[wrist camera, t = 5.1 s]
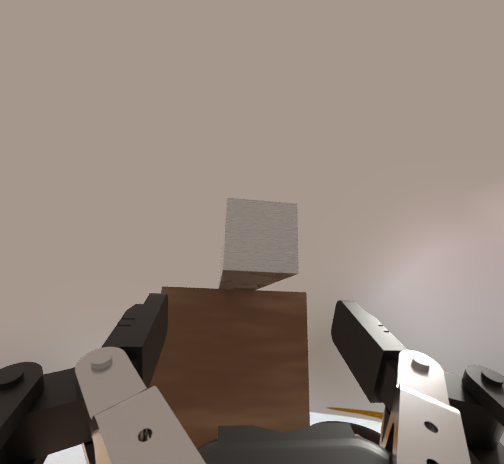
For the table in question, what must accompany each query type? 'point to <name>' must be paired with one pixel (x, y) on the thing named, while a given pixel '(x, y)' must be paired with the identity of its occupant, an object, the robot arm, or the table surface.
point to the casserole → (361, 432)
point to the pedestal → (235, 360)
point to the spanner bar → (258, 244)
